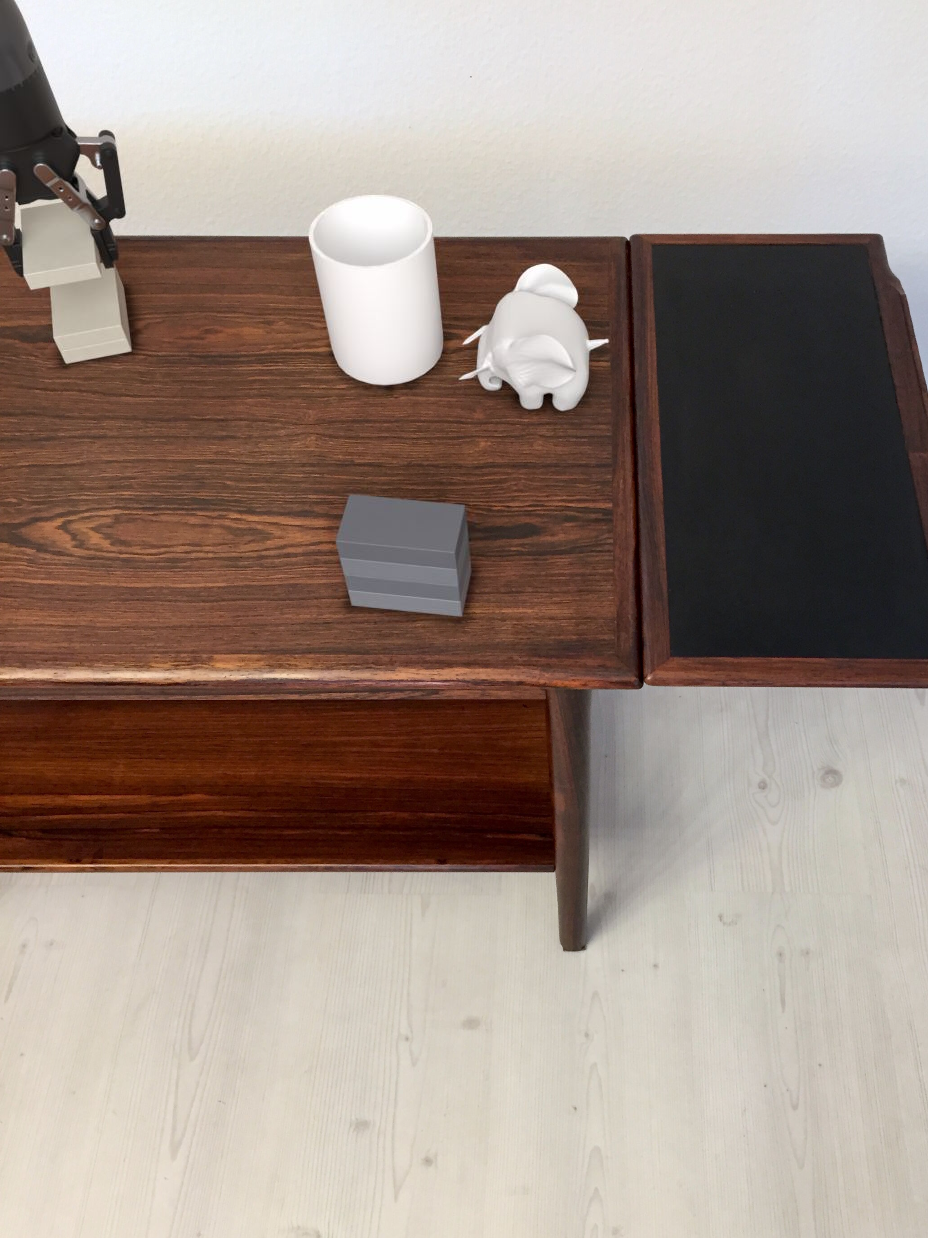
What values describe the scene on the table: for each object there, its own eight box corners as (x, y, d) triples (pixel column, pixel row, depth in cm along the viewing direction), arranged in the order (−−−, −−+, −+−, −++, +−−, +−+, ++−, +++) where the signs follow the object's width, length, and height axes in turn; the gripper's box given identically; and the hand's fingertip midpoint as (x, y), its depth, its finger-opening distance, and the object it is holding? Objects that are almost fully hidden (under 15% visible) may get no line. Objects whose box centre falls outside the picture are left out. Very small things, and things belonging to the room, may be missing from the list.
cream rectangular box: (132, 351, 90) (121, 325, 88) (65, 364, 90) (53, 337, 87) (124, 287, 95) (113, 260, 93) (60, 298, 94) (48, 271, 92)
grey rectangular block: (351, 605, 76) (334, 540, 70) (364, 560, 78) (349, 493, 72) (462, 617, 75) (454, 552, 69) (471, 570, 77) (465, 504, 71)
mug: (327, 389, 88) (300, 269, 78) (343, 297, 95) (320, 175, 85) (441, 389, 88) (428, 269, 78) (448, 297, 95) (437, 175, 85)
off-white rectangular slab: (27, 223, 88) (20, 208, 87) (94, 212, 89) (88, 197, 88) (30, 290, 83) (23, 274, 82) (102, 277, 84) (96, 262, 83)
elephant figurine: (466, 346, 91) (459, 257, 84) (605, 349, 91) (611, 260, 83) (457, 425, 86) (449, 337, 78) (605, 429, 85) (611, 340, 78)
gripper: (84, 21, 77) (155, 228, 91) (-126, 50, 75) (-19, 258, 89) (91, 73, 73) (164, 281, 87) (-131, 106, 71) (-19, 314, 85)
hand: (71, 268), depth 88 cm, fingers closed on off-white rectangular slab, 5 cm apart
